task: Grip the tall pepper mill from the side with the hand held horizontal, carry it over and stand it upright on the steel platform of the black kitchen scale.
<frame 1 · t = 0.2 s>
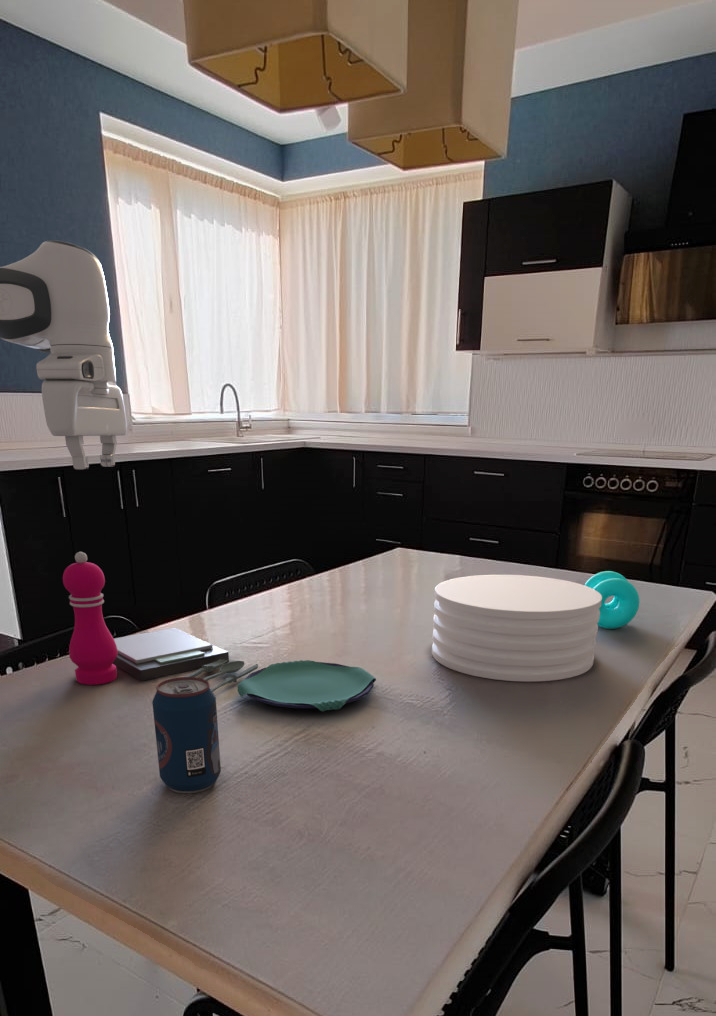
hand: (95, 467, 120), 31 cm above the table, tool pointing down, fingers open, 8 cm apart
donuts: (605, 624, 156), on the table
soda can: (191, 783, 90), on the table
cutlery set: (279, 690, 119), on the table
pepper mill: (97, 679, 123), on the table
kitchen scale: (161, 658, 133), on the table
plate stack: (511, 656, 136), on the table
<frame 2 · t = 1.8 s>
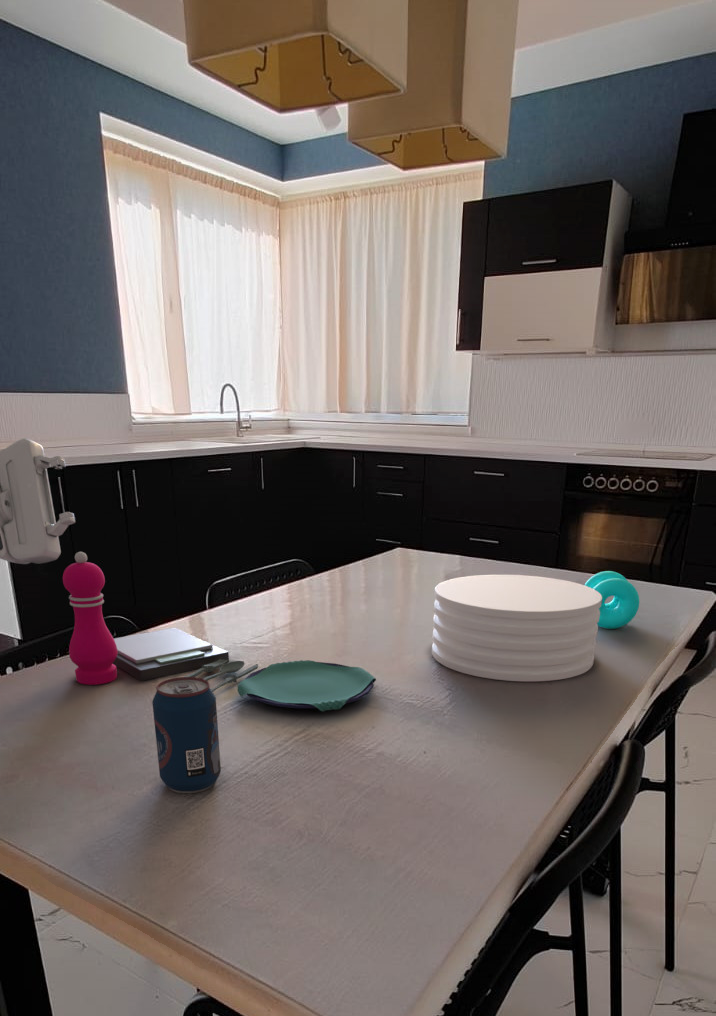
hand: (67, 488, 127), 27 cm above the table, tool pointing upward, fingers open, 8 cm apart
nothing on the table moved.
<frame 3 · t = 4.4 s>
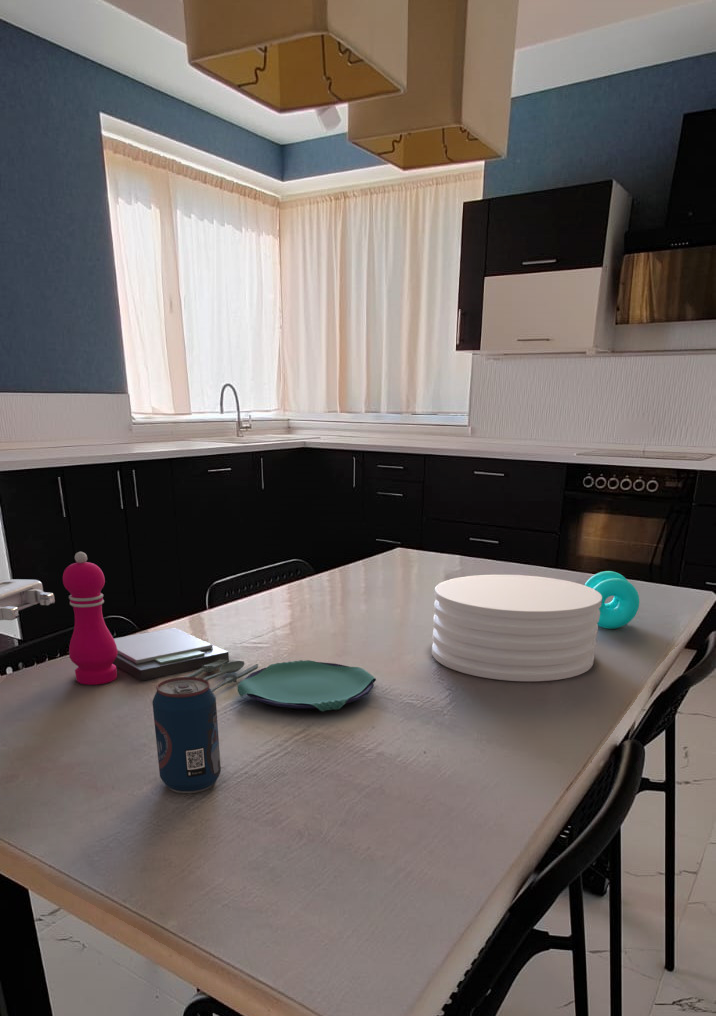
hand: (34, 606, 121), 11 cm above the table, tool horizontal, fingers open, 8 cm apart
nothing on the table moved.
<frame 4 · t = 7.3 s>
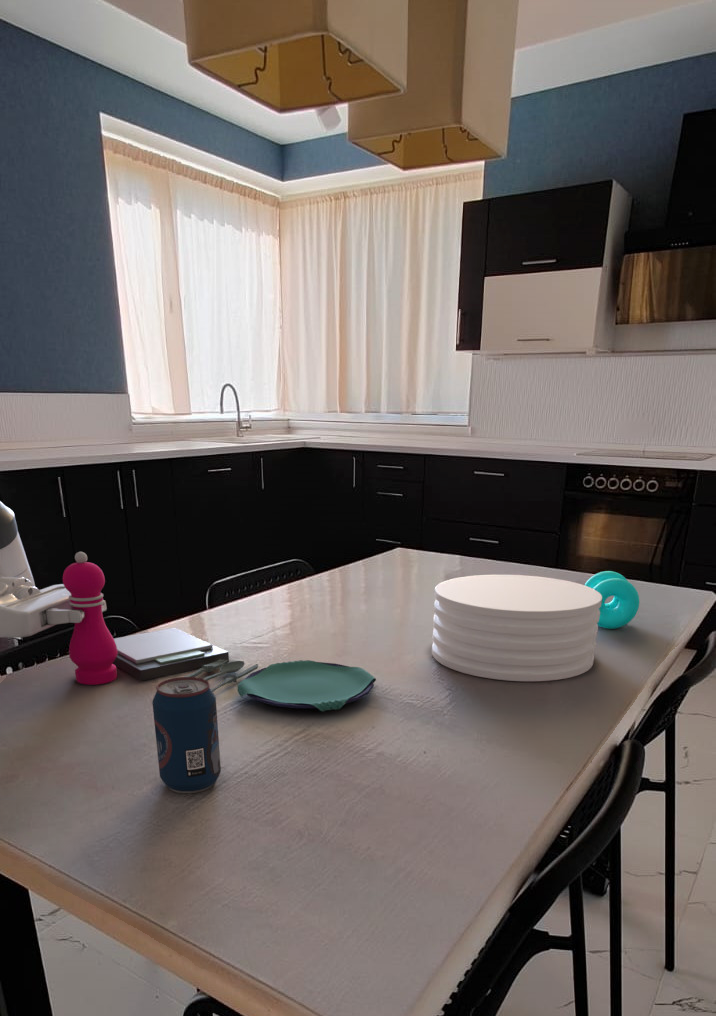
hand: (93, 611, 118), 11 cm above the table, tool horizontal, fingers closed on pepper mill, 5 cm apart
pepper mill: (97, 679, 123), on the table, touching gripper
everything else where it was.
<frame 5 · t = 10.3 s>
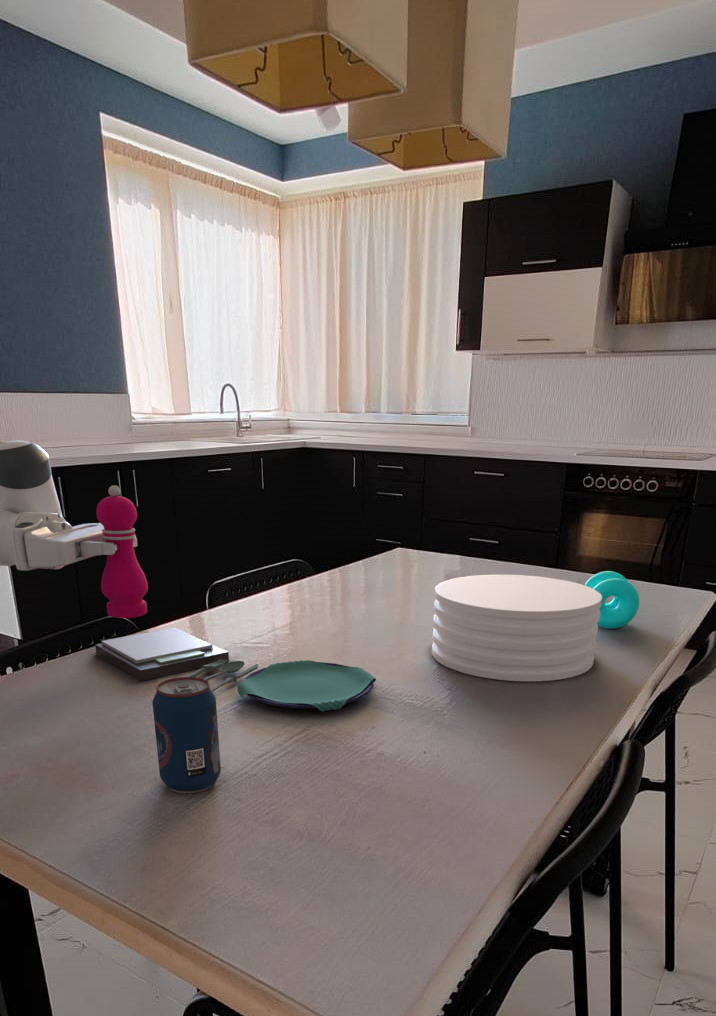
hand: (125, 545, 121), 20 cm above the table, tool horizontal, fingers closed on pepper mill, 5 cm apart
pepper mill: (127, 614, 126), point 9 cm above the table, touching gripper
everything else where it was.
when the fingers open (13 cm above the table, at t = 13.5 s): pepper mill stays where it is, resting on kitchen scale.
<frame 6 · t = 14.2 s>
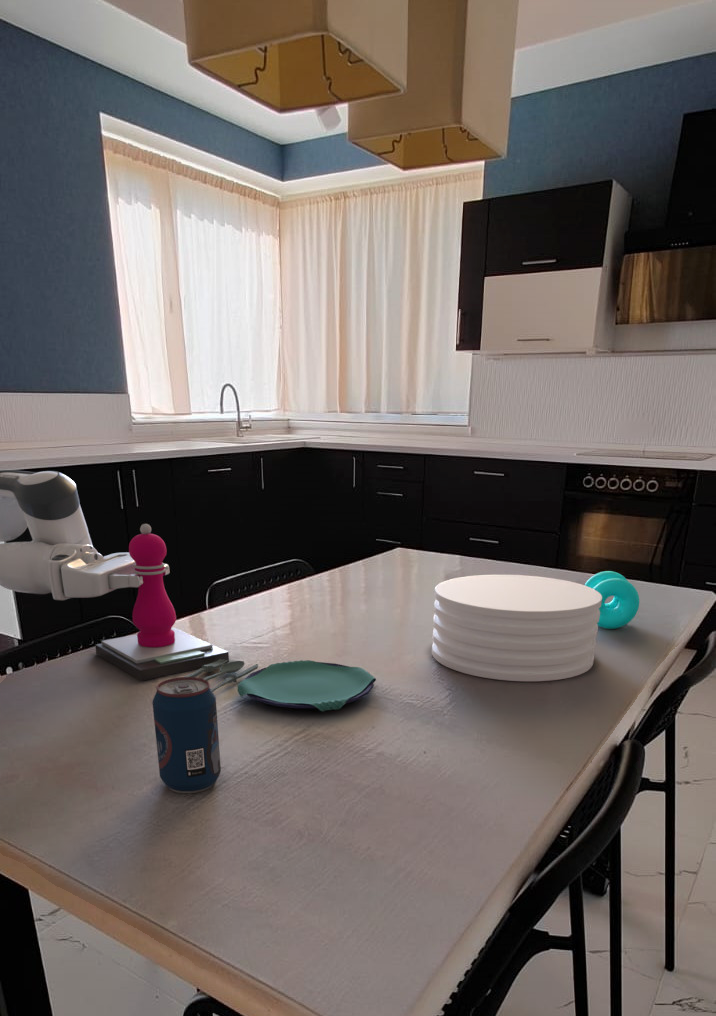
hand: (154, 575, 128), 14 cm above the table, tool horizontal, fingers open, 8 cm apart
pepper mill: (156, 643, 133), point 2 cm above the table, touching kitchen scale
everything else where it was.
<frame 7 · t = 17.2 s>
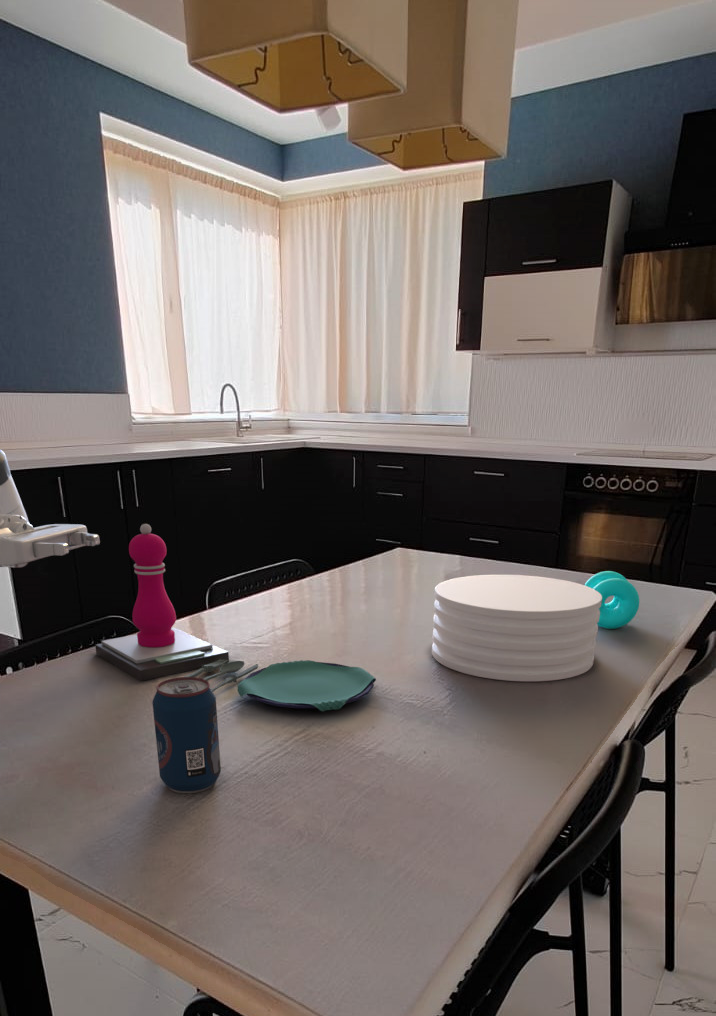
hand: (82, 544, 129), 19 cm above the table, tool horizontal, fingers open, 8 cm apart
nothing on the table moved.
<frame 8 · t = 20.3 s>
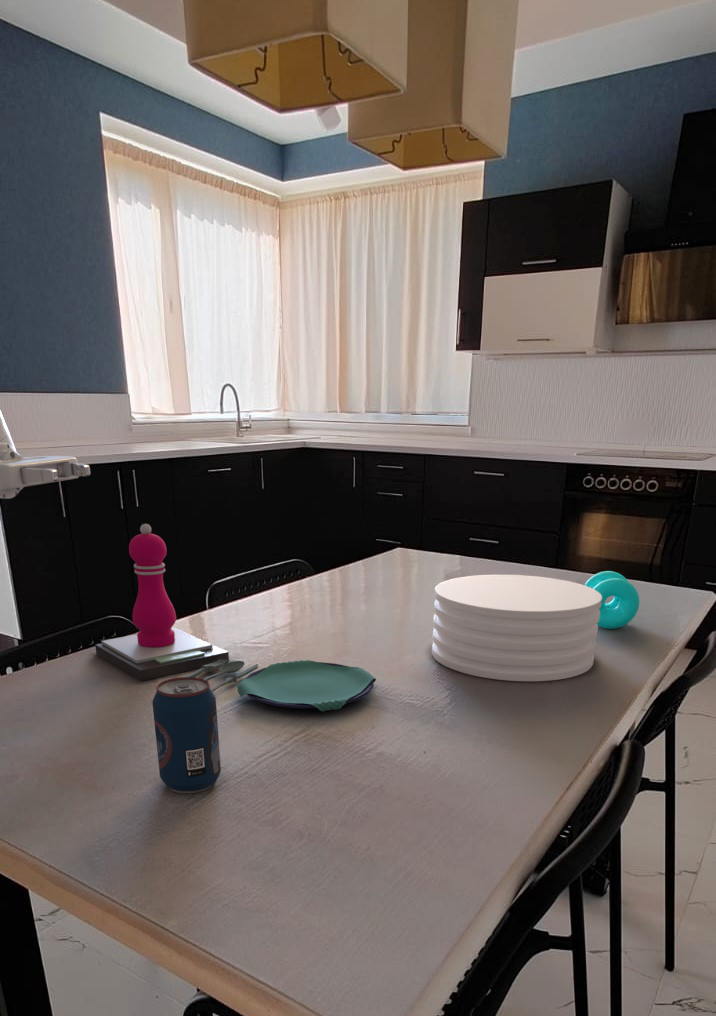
hand: (72, 472, 125), 30 cm above the table, tool horizontal, fingers open, 8 cm apart
nothing on the table moved.
at the end: pepper mill inside the target area on the kitchen scale (0.1 cm from its centre), point 2.2 cm above the kitchen scale's base; pepper mill tilted 0°; the gripper is holding nothing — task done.
